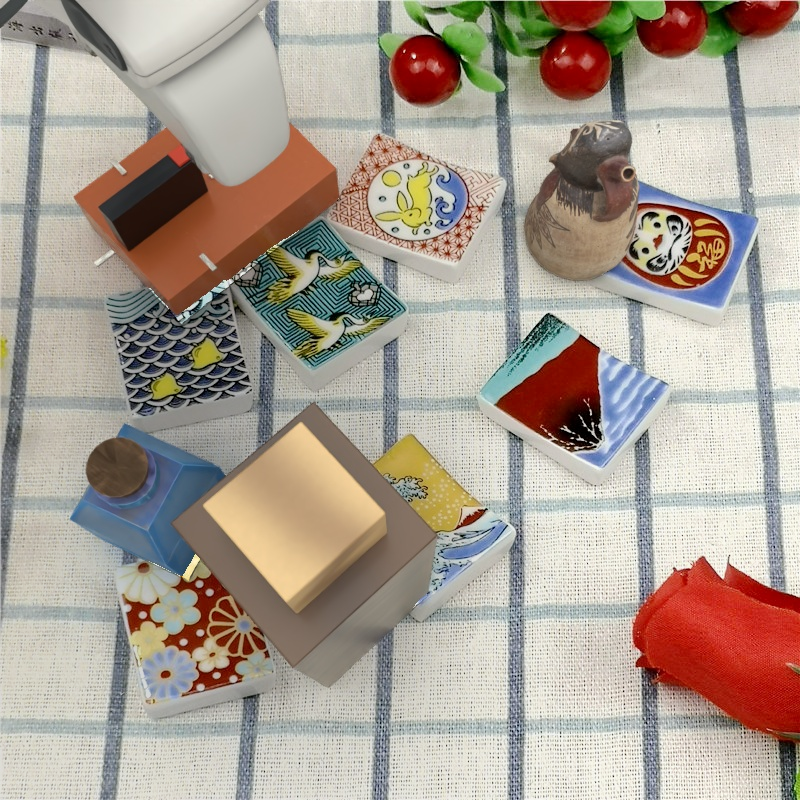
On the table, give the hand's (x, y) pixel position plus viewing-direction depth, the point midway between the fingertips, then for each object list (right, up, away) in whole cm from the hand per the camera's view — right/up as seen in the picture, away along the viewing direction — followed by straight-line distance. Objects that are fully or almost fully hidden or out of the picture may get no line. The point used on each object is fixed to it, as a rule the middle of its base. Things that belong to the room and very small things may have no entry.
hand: (152, 98), depth 52 cm
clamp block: (0, -3, +17) cm, 17 cm away
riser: (+9, -27, +9) cm, 30 cm away
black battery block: (-3, -4, +13) cm, 13 cm away
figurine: (+25, -5, +17) cm, 30 cm away
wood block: (+9, -21, -10) cm, 25 cm away
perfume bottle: (-2, -23, +11) cm, 25 cm away
